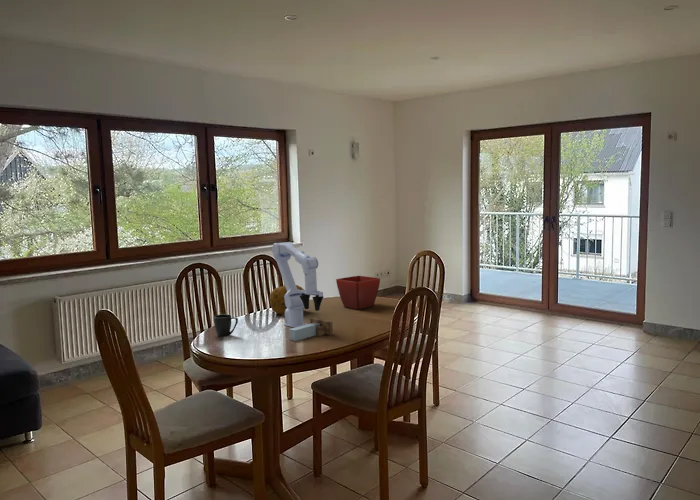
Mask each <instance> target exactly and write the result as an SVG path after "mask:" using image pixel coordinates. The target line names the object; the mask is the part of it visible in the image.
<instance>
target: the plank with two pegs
mask: <svg viewBox="0 0 700 500" xmlns="http://www.w3.org/2000/svg"><path fill="white" fill-rule="evenodd" d="M310 323H319V324H320V326H319V327H317V335H316V336H319V337H320V336H323V334H324V335H333V332H334V331H333V321H331V320H326V319H320V318H315V317H310V318H309V324H310ZM325 333H326V334H325Z"/></svg>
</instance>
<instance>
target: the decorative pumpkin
mask: <svg viewBox="0 0 700 500" xmlns="http://www.w3.org/2000/svg"><path fill="white" fill-rule="evenodd" d="M282 281H283V280H282ZM296 287H297V289H299V290H305V288H303V287H302V286H300V285H297V284H296ZM286 293H287V290H286V287H285V284H284V281H283V286H278V287H276V288H274V289H273V290H272V291H271V292H270V294H269V304H270V307H271V310H272V311H274V313H276V314H278V315H284V316H285V310H286V309H287V307H286V305H285V299H284V296H285V294H286ZM303 310H305V308H303Z"/></svg>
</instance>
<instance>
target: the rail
mask: <svg viewBox="0 0 700 500" xmlns="http://www.w3.org/2000/svg"><path fill="white" fill-rule="evenodd" d="M306 324H307V325H303V326H299V327H291V328H288V336H289V340H290V341H293V342H297V341H300V339H301V340H304V339H307V337H308V338H312V337H313V336H314V335H315V336H318V335H317V327H319V326H320V324H319V323H310V322H309V323H306Z"/></svg>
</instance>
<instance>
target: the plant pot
mask: <svg viewBox="0 0 700 500" xmlns="http://www.w3.org/2000/svg"><path fill="white" fill-rule="evenodd" d="M335 279H336V280H335V281H336V282H335V283H336V287H337V290H338V291H337V292H338V295H339V297H340V300H341V302H342V305H343V307H344V308H348V307H349V308H350V309H353V308H354V310H362V308H363V309H367V308H366V307H368V308H371V307H370V306H373V307H374V306H375V303H376V299H377V296H378V294H379V293H378V292H379V290H380V282H381V278H379V277H372V276H365V275H353V276H347V277H342V278H335Z"/></svg>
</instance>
